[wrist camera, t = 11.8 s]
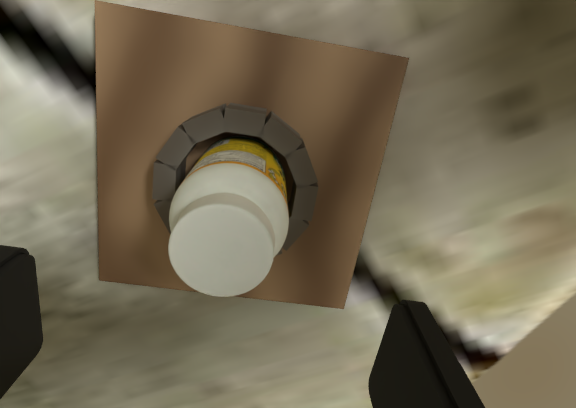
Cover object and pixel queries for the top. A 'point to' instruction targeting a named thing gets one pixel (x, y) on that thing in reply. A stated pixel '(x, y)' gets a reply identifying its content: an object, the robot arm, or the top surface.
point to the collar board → (237, 122)
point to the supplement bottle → (229, 218)
